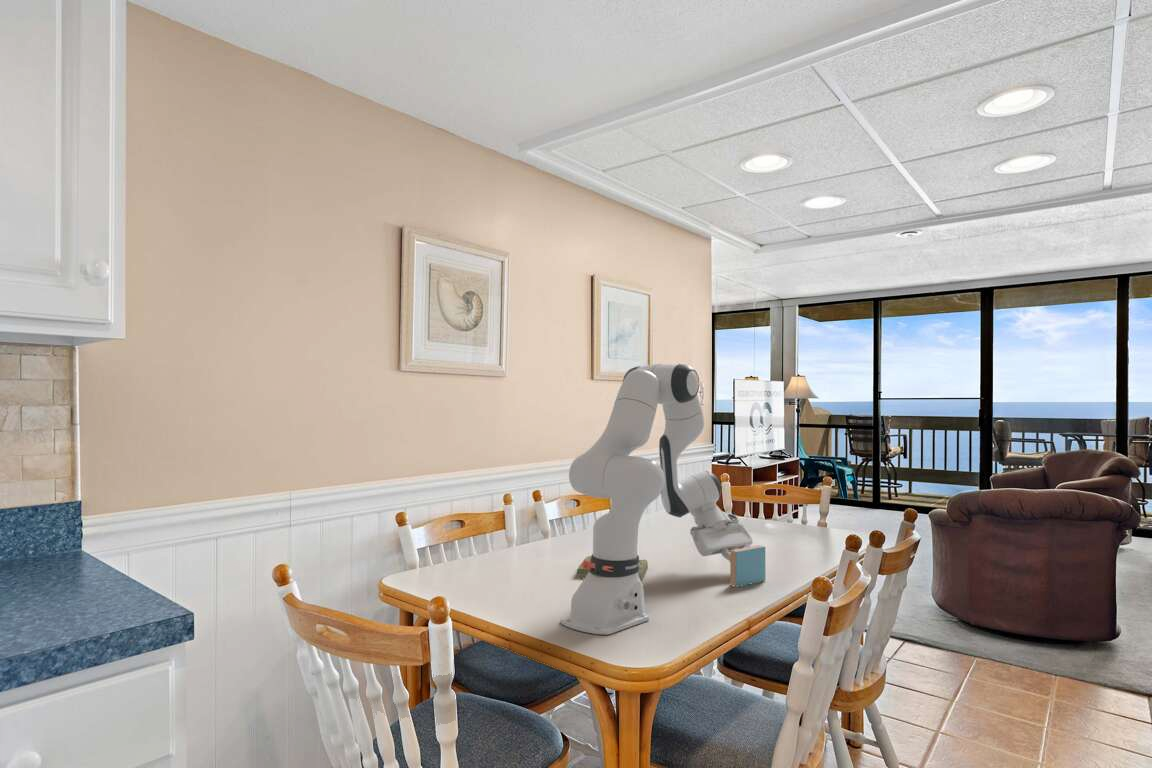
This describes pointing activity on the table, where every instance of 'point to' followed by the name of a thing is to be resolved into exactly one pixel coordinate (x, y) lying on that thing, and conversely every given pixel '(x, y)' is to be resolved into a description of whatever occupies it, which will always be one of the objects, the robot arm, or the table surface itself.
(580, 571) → the decorative tile
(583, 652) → the table surface
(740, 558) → the glazed tile
